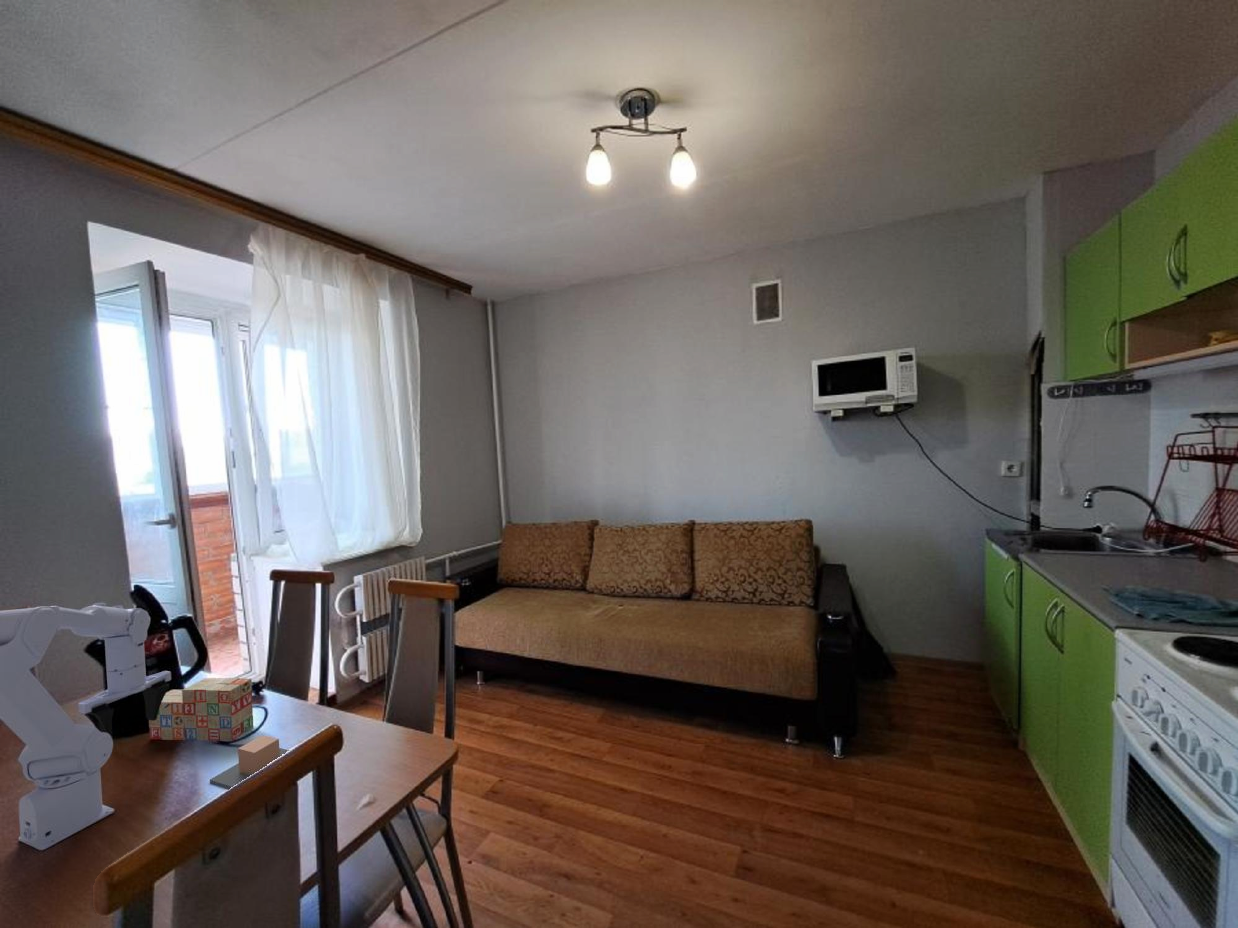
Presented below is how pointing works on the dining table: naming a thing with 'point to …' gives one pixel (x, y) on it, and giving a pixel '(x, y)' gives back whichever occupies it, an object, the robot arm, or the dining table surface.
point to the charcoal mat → (233, 775)
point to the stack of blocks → (205, 711)
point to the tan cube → (258, 754)
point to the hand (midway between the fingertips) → (130, 729)
